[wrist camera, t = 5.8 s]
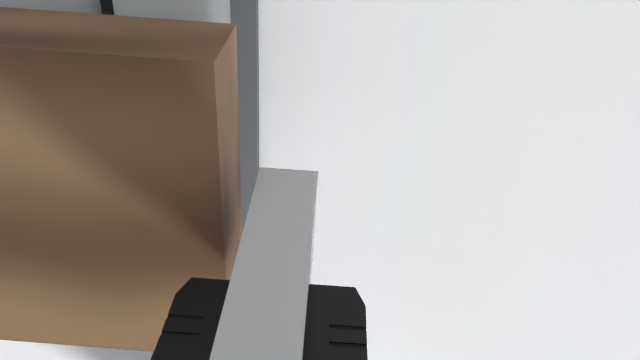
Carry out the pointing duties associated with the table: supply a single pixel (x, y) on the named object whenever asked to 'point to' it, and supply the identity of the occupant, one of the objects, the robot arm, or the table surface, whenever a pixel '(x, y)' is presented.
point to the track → (244, 91)
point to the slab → (113, 172)
